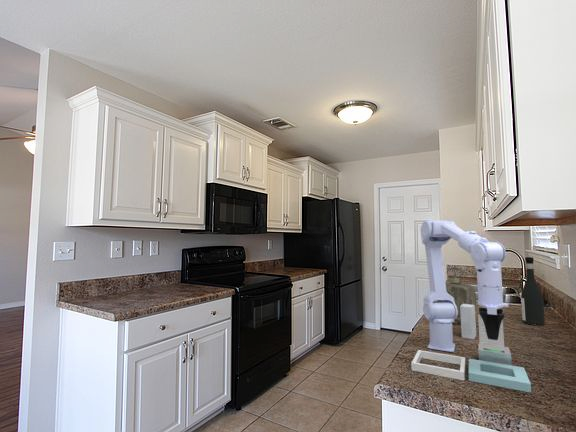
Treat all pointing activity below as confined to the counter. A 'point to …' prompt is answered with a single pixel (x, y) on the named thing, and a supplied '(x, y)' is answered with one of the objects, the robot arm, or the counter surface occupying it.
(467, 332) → the skincare box
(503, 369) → the pale blue window frame
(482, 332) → the billet
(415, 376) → the counter surface
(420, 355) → the white square frame
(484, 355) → the button housing
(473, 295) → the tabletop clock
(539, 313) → the wine bottle
